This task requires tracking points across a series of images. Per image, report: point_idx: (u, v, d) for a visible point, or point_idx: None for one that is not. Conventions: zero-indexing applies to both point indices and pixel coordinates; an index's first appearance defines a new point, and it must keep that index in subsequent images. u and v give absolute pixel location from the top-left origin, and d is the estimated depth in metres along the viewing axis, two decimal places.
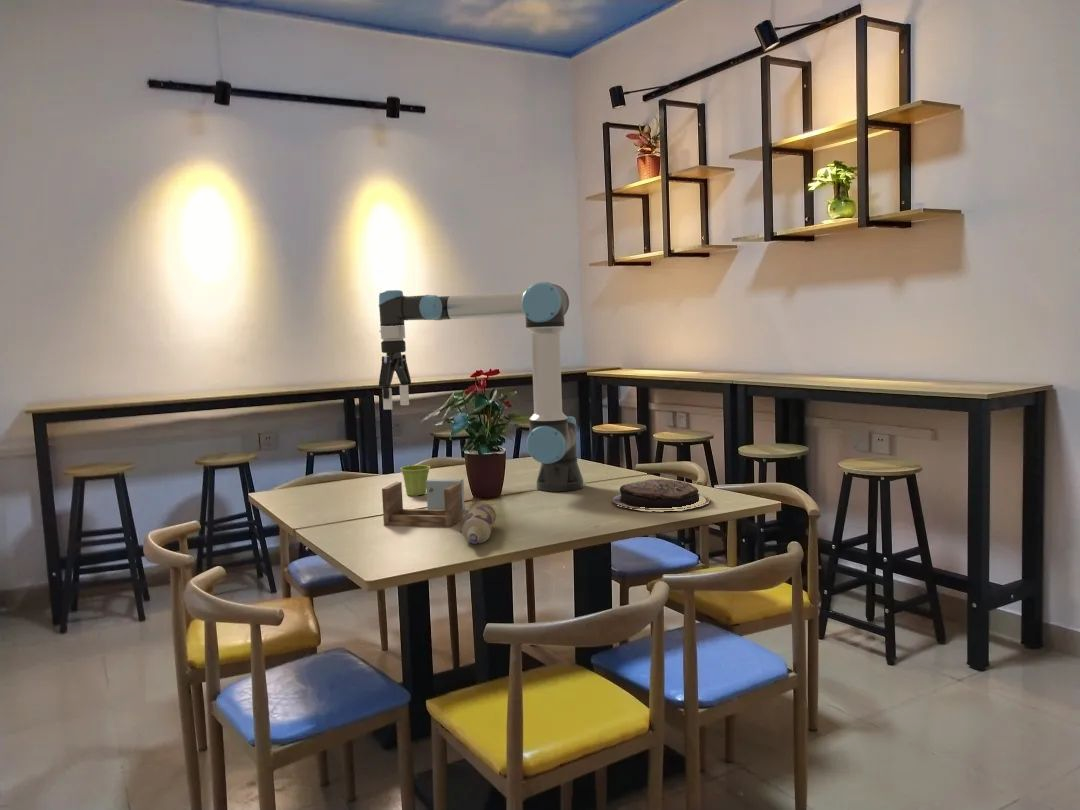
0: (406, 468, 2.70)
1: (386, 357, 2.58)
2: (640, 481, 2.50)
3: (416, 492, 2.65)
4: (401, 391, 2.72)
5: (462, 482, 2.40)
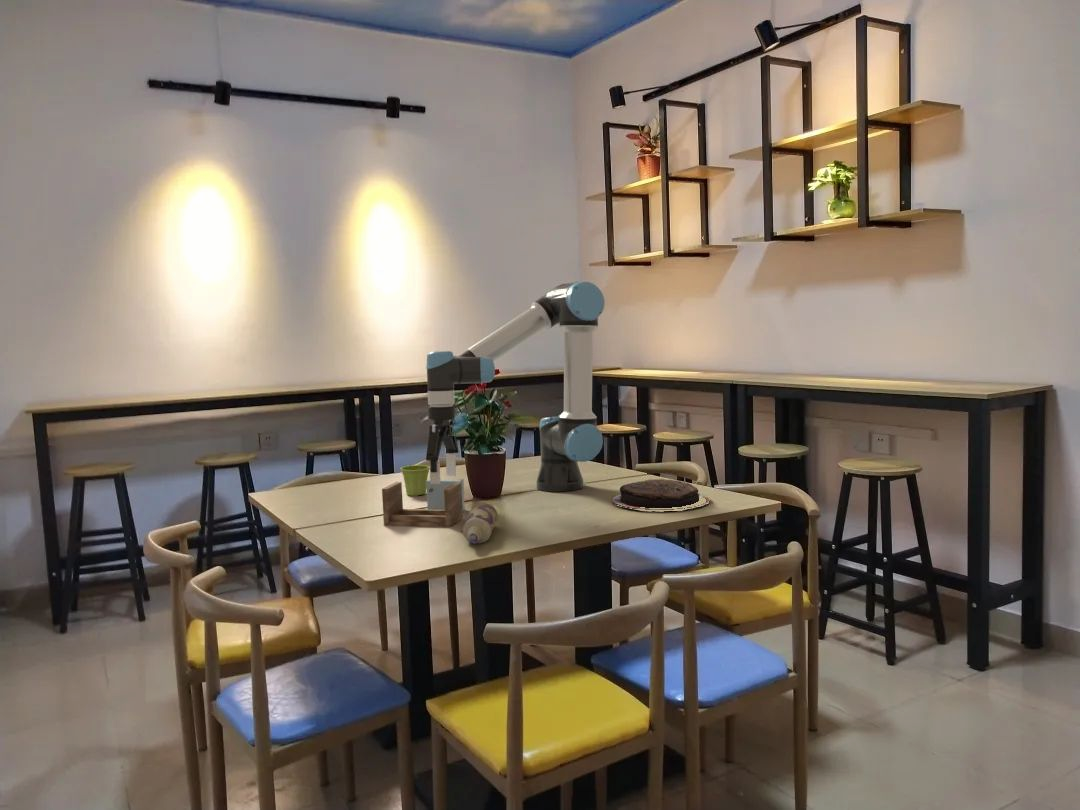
0: (406, 468, 2.70)
1: (434, 426, 2.33)
2: (640, 481, 2.49)
3: (416, 492, 2.65)
4: (447, 460, 2.47)
5: (462, 482, 2.40)
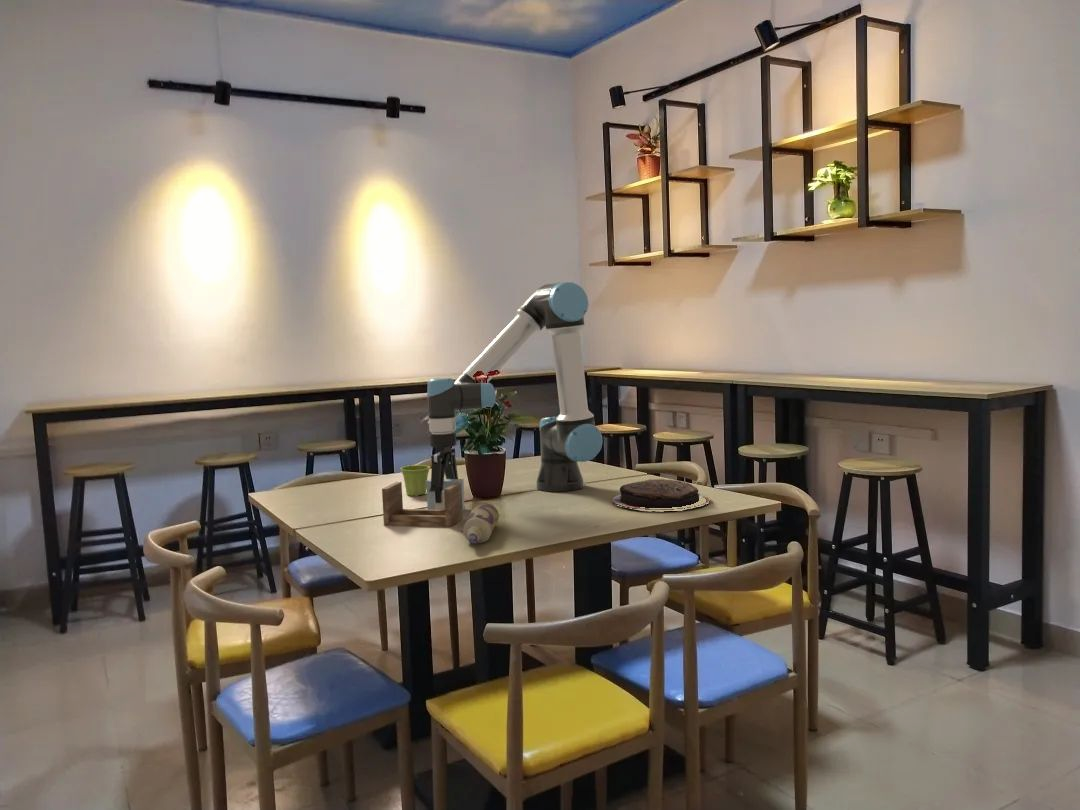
0: (406, 468, 2.70)
1: (436, 457, 2.33)
2: (640, 481, 2.49)
3: (416, 492, 2.65)
4: None
5: (462, 482, 2.40)
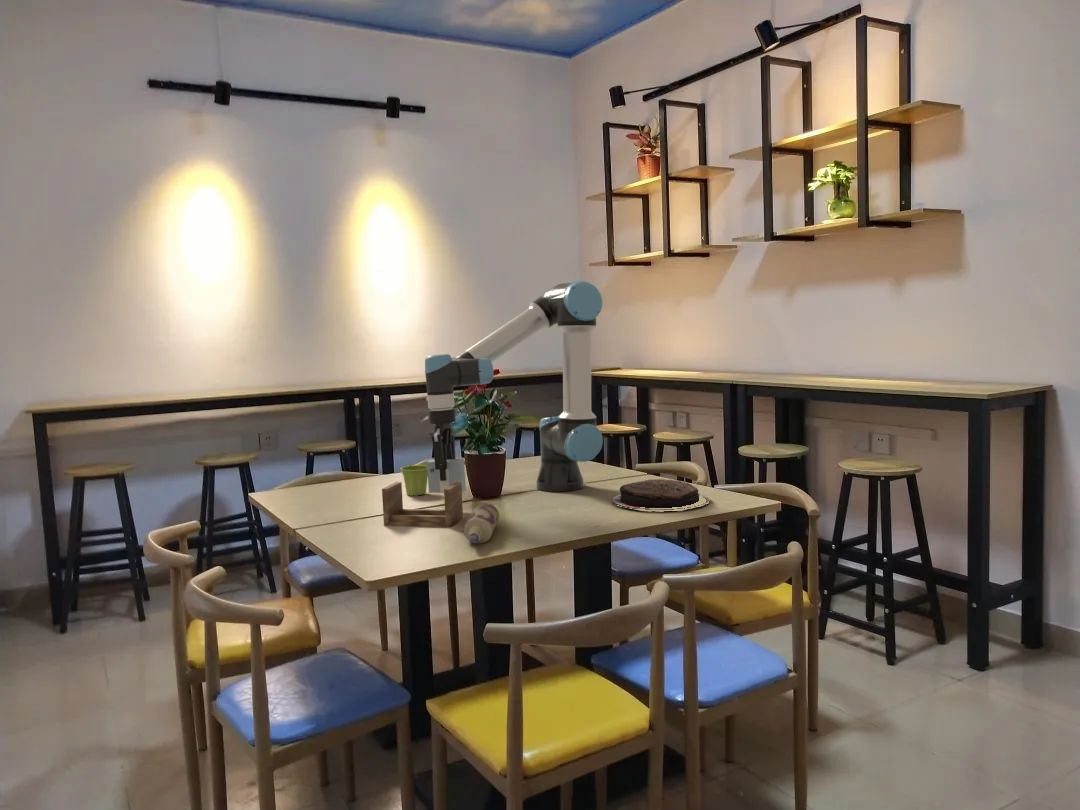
0: (406, 468, 2.70)
1: (436, 437, 2.33)
2: (640, 481, 2.49)
3: (416, 492, 2.65)
4: None
5: (463, 462, 2.40)
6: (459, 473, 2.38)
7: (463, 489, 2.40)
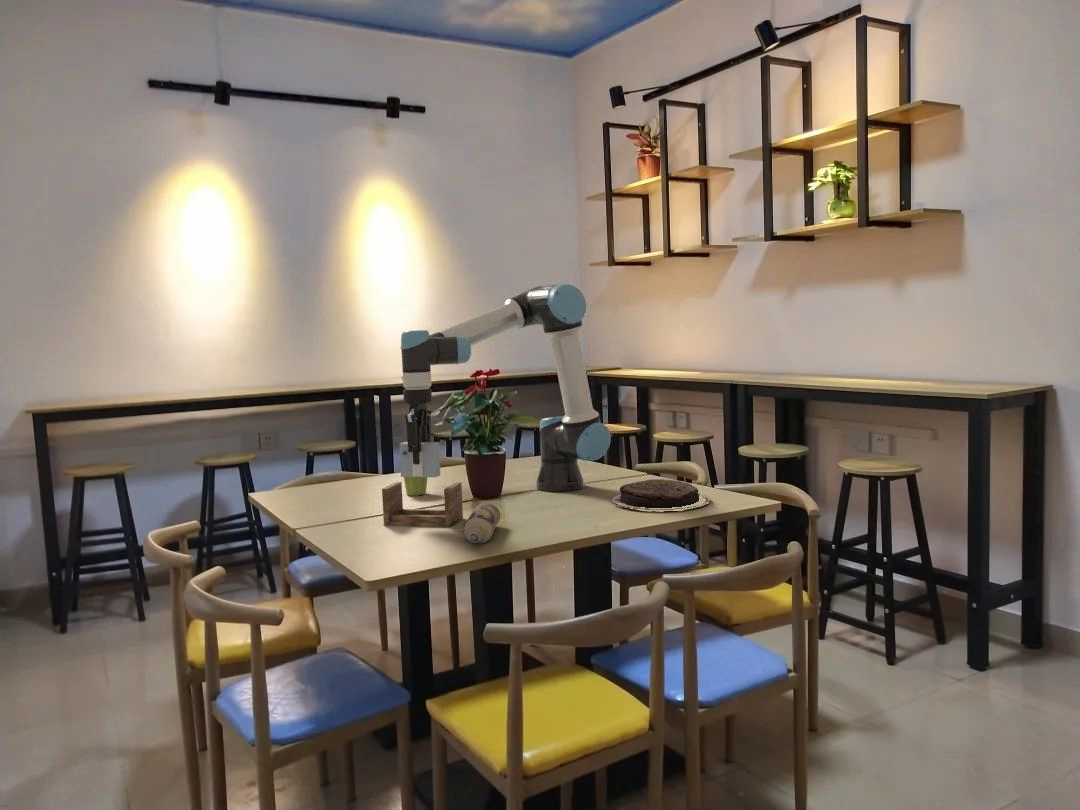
0: None
1: (410, 417, 2.19)
2: (640, 481, 2.50)
3: (416, 492, 2.65)
4: None
5: (438, 445, 2.26)
6: (433, 457, 2.24)
7: (437, 474, 2.26)
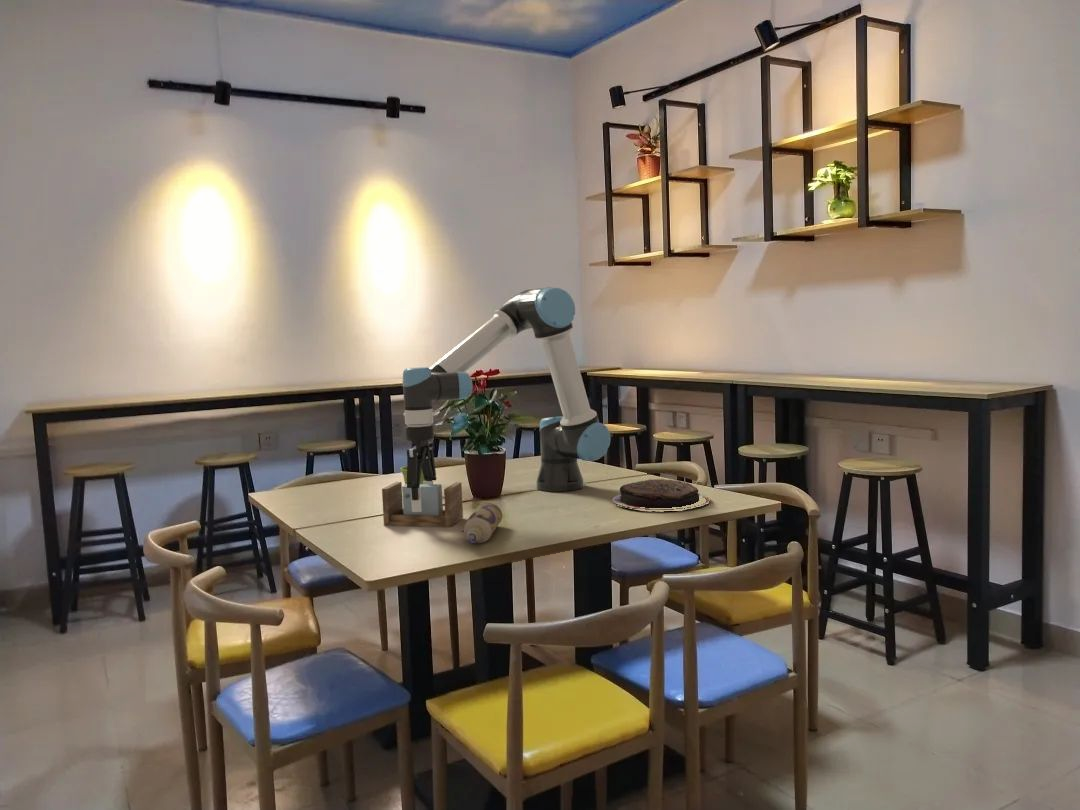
0: (406, 468, 2.70)
1: (412, 451, 2.20)
2: (640, 481, 2.49)
3: None
4: None
5: (440, 488, 2.27)
6: (436, 499, 2.25)
7: None
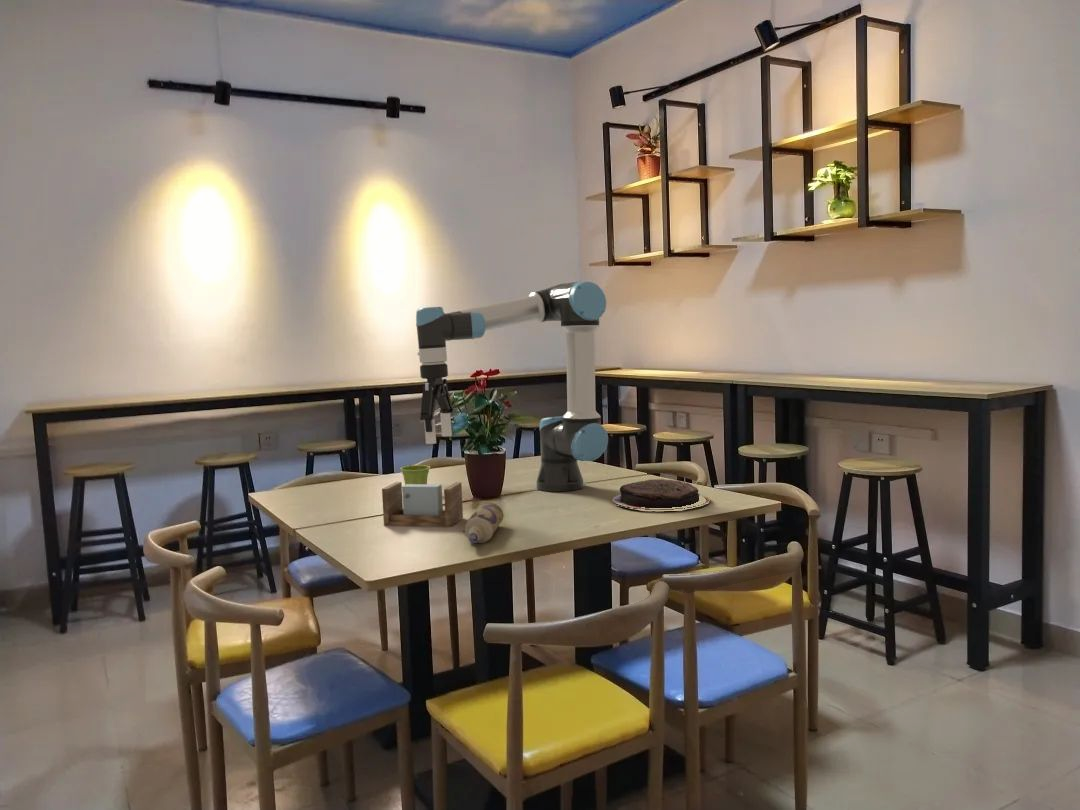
0: (406, 468, 2.70)
1: (428, 384, 2.25)
2: (640, 481, 2.50)
3: None
4: (442, 420, 2.40)
5: (440, 488, 2.27)
6: (436, 499, 2.25)
7: None
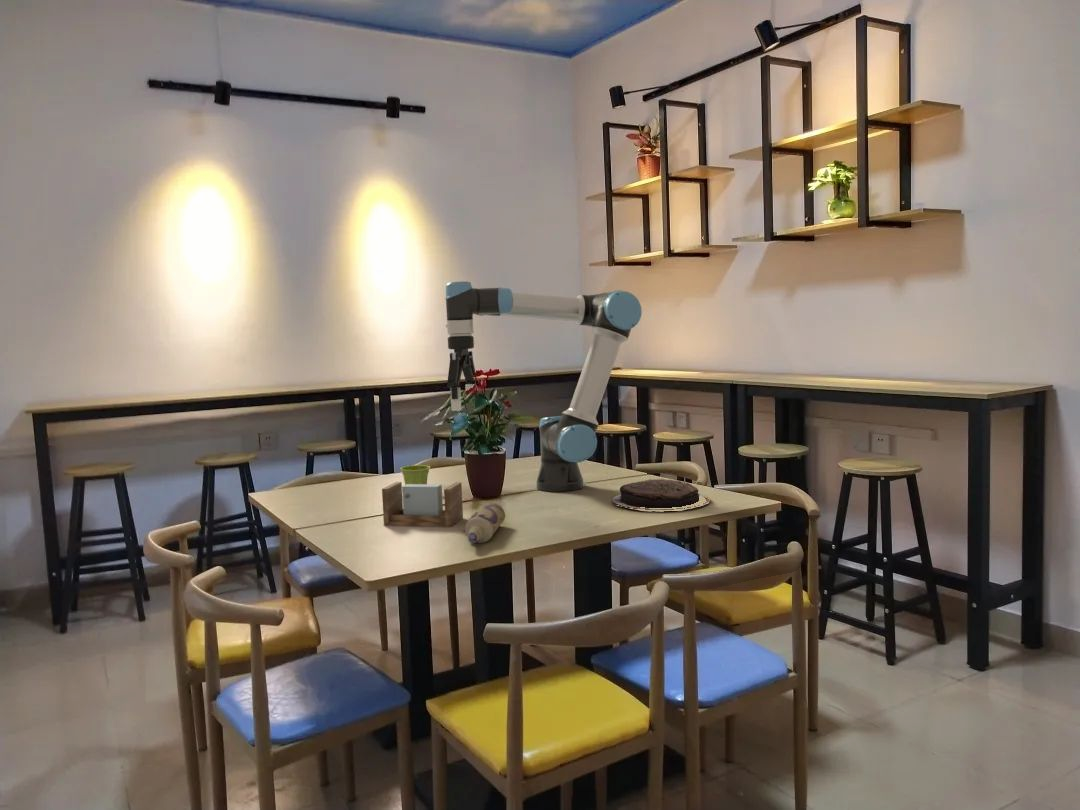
0: (406, 468, 2.70)
1: (455, 354, 2.38)
2: (640, 481, 2.49)
3: None
4: None
5: (440, 488, 2.27)
6: (436, 499, 2.25)
7: None
